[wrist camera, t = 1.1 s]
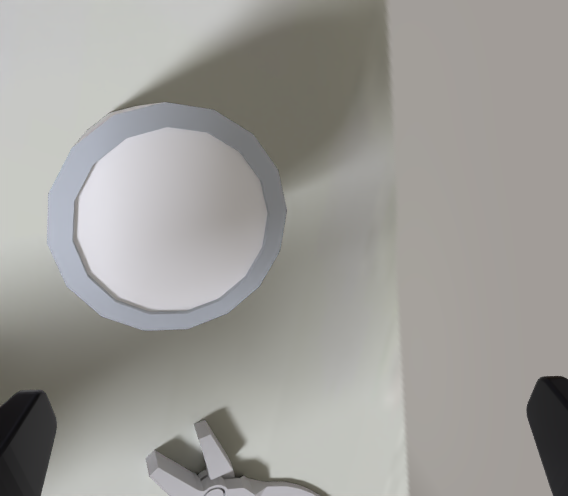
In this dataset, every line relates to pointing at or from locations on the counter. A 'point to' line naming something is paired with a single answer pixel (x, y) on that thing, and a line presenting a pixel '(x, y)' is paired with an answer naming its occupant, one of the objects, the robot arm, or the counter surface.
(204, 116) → the shot glass
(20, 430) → the robot arm
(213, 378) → the counter surface
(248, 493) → the pliers
